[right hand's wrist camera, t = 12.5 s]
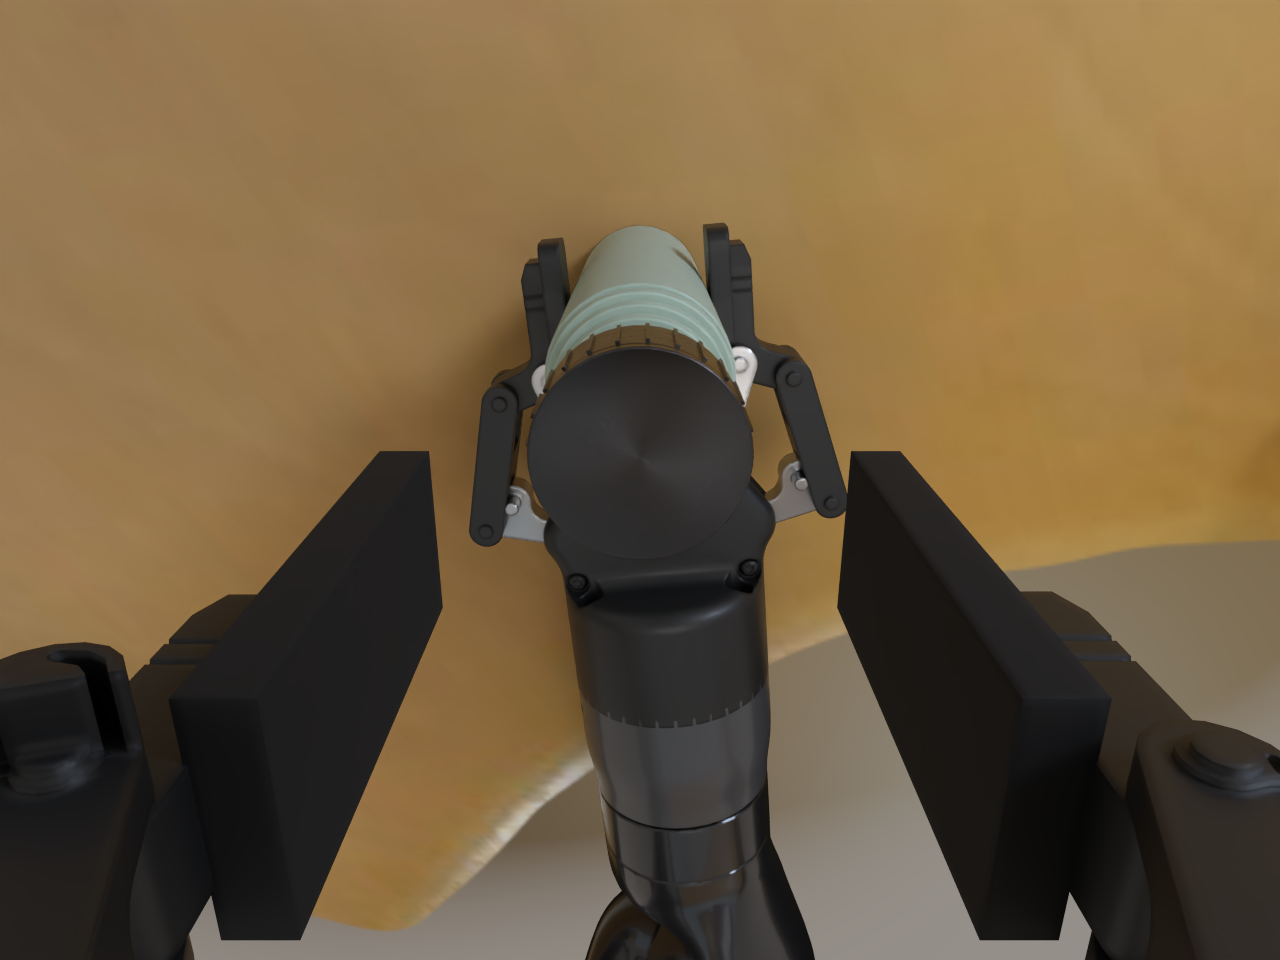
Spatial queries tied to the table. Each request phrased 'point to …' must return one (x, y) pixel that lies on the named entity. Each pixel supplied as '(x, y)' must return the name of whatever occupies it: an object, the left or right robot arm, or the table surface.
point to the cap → (640, 443)
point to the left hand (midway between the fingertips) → (631, 235)
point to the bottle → (640, 294)
